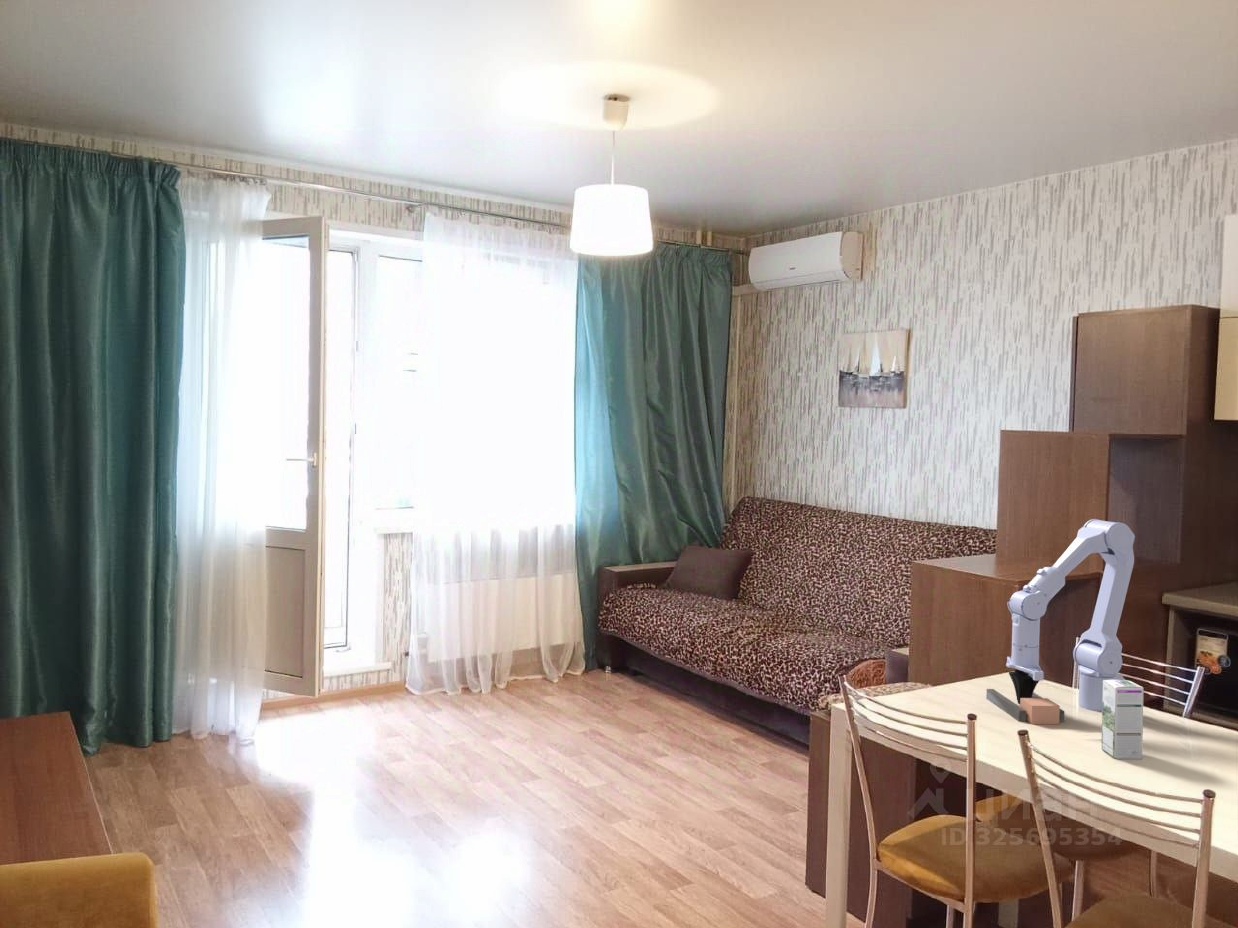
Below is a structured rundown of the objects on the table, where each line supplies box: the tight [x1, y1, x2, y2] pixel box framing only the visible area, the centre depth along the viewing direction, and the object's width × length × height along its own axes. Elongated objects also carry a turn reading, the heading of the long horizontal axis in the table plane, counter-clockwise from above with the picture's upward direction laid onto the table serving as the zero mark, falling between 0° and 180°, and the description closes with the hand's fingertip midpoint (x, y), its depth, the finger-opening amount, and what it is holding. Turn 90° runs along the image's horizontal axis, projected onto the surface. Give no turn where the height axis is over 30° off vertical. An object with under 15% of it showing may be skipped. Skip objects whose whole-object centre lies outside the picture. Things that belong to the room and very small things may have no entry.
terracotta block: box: [1019, 697, 1061, 725], centre depth 216 cm, size 6×6×4 cm
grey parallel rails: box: [985, 688, 1066, 723], centre depth 224 cm, size 12×24×4 cm, turn 1°
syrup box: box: [1101, 679, 1144, 760], centre depth 197 cm, size 6×6×14 cm
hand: (1023, 704), depth 224 cm, fingers closed
